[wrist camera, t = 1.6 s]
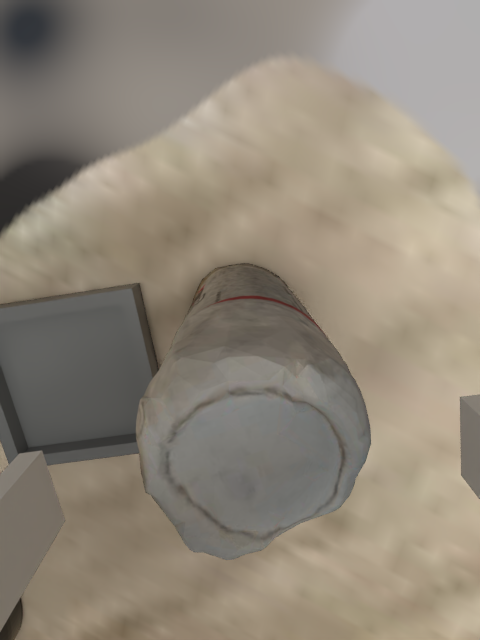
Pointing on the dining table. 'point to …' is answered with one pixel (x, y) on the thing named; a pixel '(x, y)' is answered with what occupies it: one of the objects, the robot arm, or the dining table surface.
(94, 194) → the dining table surface
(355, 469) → the spray can
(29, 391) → the tray
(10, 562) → the robot arm
